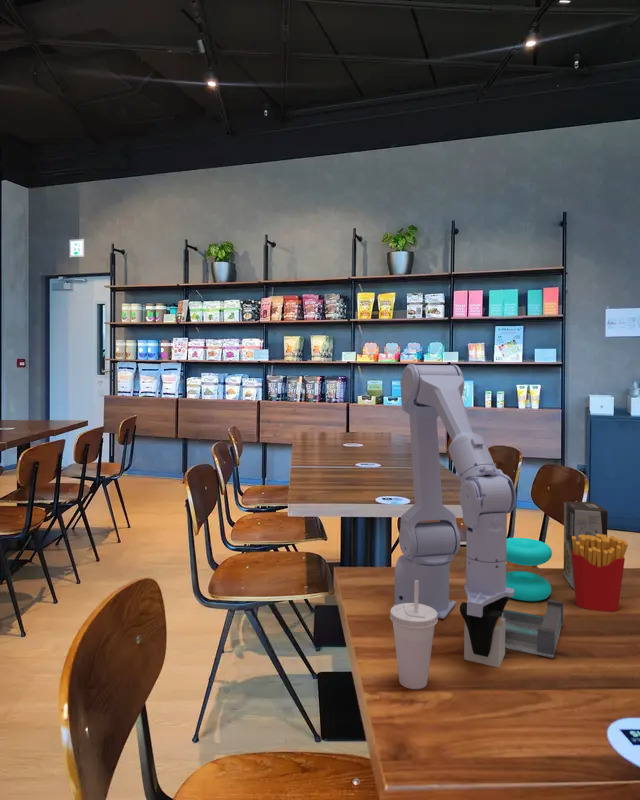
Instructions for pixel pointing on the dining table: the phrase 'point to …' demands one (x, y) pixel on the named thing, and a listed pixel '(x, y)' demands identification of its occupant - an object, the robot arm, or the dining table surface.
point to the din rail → (534, 630)
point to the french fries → (598, 571)
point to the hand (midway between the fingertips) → (484, 647)
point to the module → (496, 647)
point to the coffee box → (581, 528)
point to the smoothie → (413, 640)
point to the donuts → (522, 581)
